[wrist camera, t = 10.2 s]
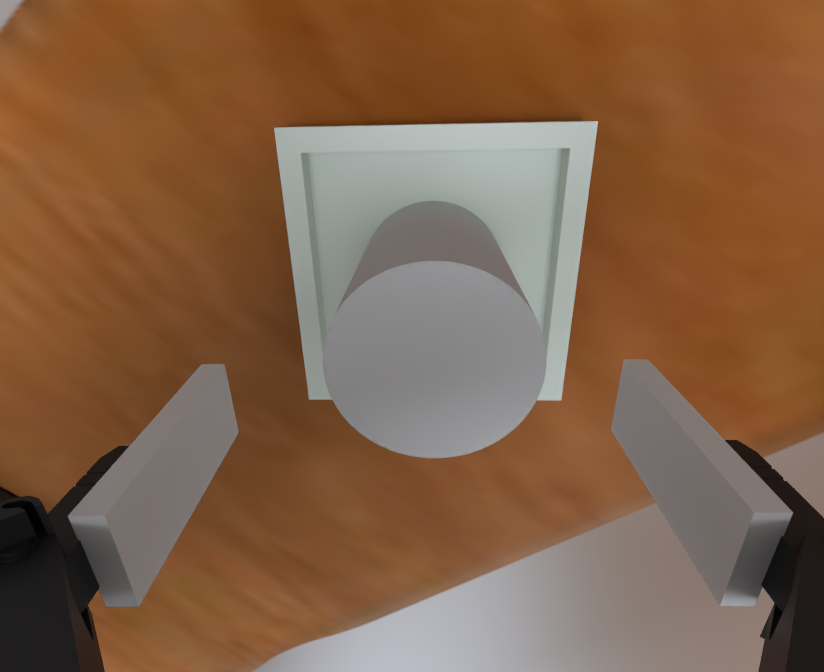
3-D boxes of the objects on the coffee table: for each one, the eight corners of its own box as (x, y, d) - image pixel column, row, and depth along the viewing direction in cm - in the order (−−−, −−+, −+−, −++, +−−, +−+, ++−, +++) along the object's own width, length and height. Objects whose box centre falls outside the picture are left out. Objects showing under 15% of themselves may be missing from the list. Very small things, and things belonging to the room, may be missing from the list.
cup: (341, 231, 27) (283, 308, 17) (476, 178, 26) (509, 224, 15) (394, 349, 31) (375, 480, 20) (518, 308, 29) (570, 424, 18)
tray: (317, 379, 33) (309, 399, 31) (287, 126, 26) (274, 127, 24) (551, 380, 32) (561, 400, 30) (583, 120, 26) (598, 121, 23)
